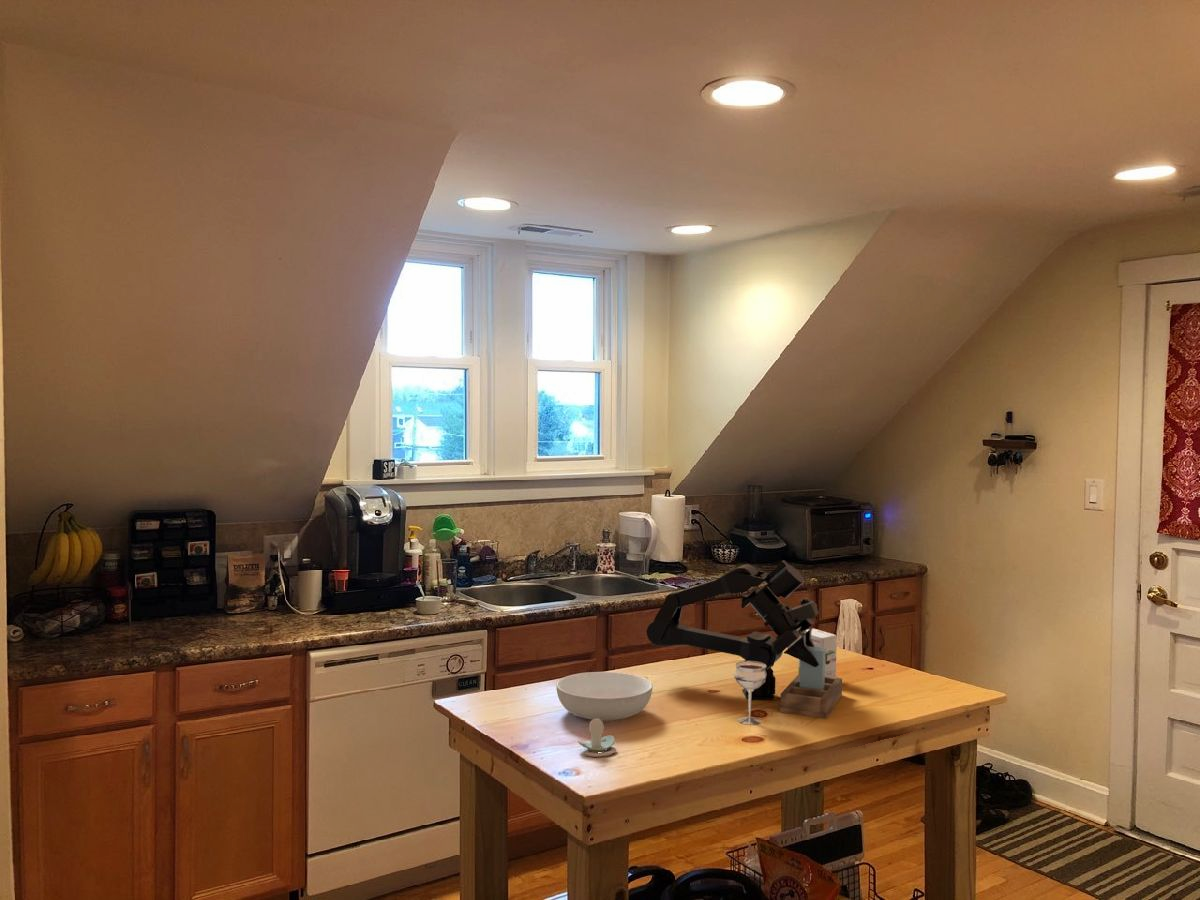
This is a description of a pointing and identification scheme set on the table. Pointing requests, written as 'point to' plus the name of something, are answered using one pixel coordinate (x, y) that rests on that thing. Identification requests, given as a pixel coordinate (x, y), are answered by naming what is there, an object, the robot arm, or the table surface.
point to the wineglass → (750, 683)
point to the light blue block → (813, 670)
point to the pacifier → (598, 741)
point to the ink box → (830, 643)
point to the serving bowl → (604, 694)
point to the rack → (811, 698)
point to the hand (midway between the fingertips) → (818, 664)
